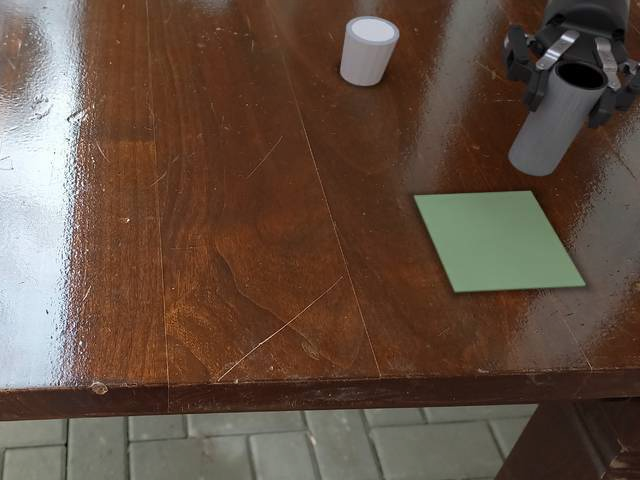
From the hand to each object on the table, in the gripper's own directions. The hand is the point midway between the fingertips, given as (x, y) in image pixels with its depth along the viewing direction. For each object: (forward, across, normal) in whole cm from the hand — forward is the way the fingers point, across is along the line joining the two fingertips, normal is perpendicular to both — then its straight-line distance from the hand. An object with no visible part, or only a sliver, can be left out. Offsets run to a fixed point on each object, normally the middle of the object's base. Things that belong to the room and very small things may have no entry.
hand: (566, 112), depth 61 cm
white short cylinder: (-25, -21, +19) cm, 38 cm away
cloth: (-1, +1, +18) cm, 19 cm away
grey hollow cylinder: (-3, 0, +8) cm, 9 cm away
